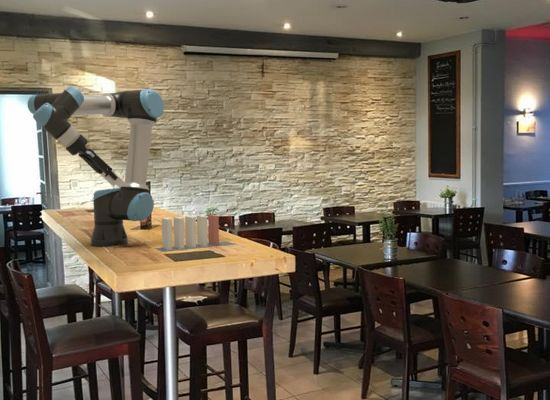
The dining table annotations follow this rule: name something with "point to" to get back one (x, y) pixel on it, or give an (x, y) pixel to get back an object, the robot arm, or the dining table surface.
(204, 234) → the domino
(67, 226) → the dining table surface
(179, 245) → the domino
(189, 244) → the domino
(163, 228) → the domino
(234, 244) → the runner mat
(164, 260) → the dining table surface
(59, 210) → the dining table surface
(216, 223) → the domino
